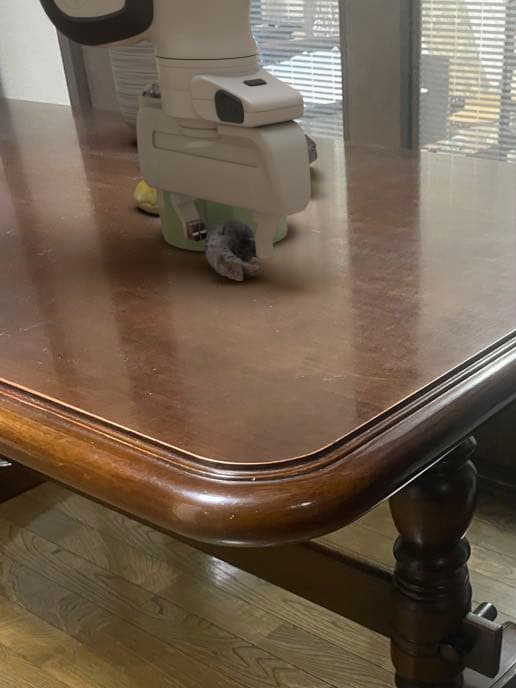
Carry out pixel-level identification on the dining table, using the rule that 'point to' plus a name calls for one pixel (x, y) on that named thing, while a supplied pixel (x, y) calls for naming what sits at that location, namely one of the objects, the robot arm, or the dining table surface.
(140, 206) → the bread roll
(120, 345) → the dining table surface
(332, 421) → the dining table surface
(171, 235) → the pot
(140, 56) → the vase
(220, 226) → the seashell
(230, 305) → the dining table surface
